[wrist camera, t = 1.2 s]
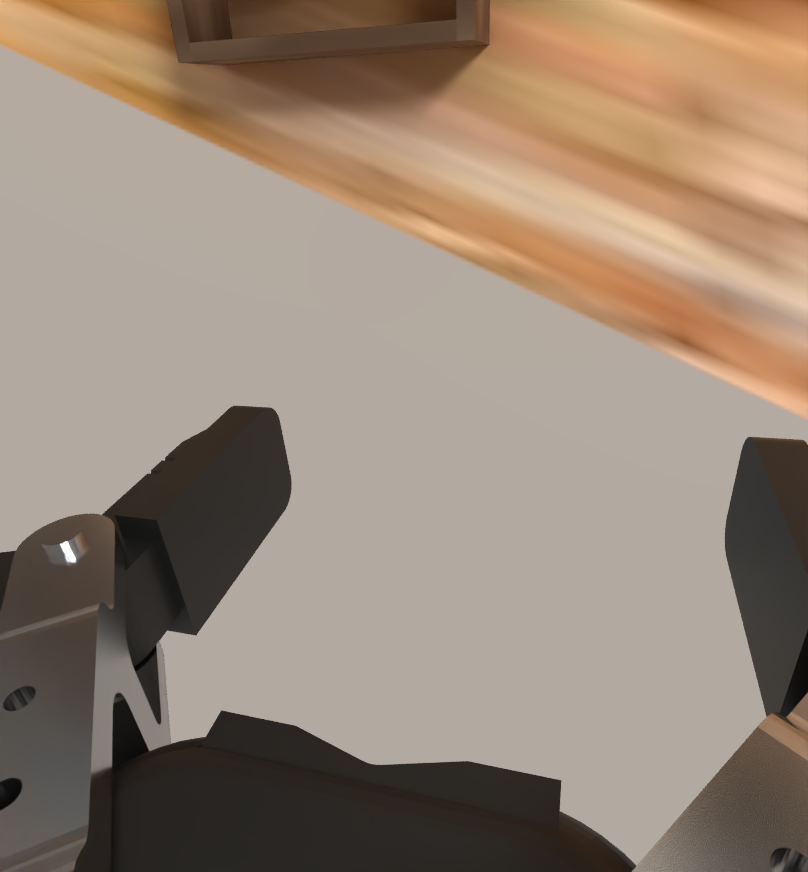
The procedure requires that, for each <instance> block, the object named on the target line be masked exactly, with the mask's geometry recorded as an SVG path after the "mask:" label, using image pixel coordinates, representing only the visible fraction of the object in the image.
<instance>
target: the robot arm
mask: <svg viewBox="0 0 808 872" xmlns="http://www.w3.org/2000/svg"><path fill="white" fill-rule="evenodd" d="M290 494H291V475H290V470H289V465H288V460H287V455H286V450H285V445H284V440H283V435H282V430H281V425H280V420H279V417H278V415H277V413H276V411H275V410H274V409H272V408H266V407H249V406H233V407H231V408H229V409H228V410H227V411H226V412H225V413H224V414H223V415H222V416H221V417H220V418H219V419H218V420H217V421H216V422H214V423H213V424H212V425H211V426H210V427H209V428H208V429H207V430H204V431H202V432H200V433H199V434H197V435H195V436H193V437H191V438H189V439H187V440H185V441H183V442H182V443H181V444H180V445H179V446H178V447H176V448H175V449H174V450H173V451H172V452H171V453H170V454H169V455H168V456H166V458H165V461H161V462H160V463H159V464H158V465H157V466H155V467H154V468H153V469H152V470H151V474H147V475H146V476H144V477H143V478H142V479H141V480H140V481H139V482H138V483H137V484H136V485H134V486H133V487H132V488H131V489H130V490H129V491H128V492H127V493H126V494H124V495H123V496H122V497H121V498H120V499H119V500H118V501H117V502H116V503H114V504H113V505H112V506H111V507H110V508H109V509H108V510H107V511H106V512H105V513H104V514H102V515H99V514H81V515H75V516H70V517H66V518H63V519H60V520H57V521H55V522H53V523H50V524H48V525H46V526H44V527H42V528H40V529H39V530H37V531H35V532H34V533H33V534H31V535H30V536H29V537H27V538H26V539H25V540H24V541H23V542H22V543H21V544H20V545H19V547H18V548H17V550H16V551H11V552H2V553H0V872H808V445H807V443H806V442H805V441H804V440H794V439H777V438H760V437H748V438H747V439H746V441H745V443H744V445H743V448H742V451H741V456H740V460H739V465H738V469H737V474H736V479H735V483H734V487H733V492H732V496H731V501H730V506H729V511H728V515H727V520H726V528H725V550H726V557H727V561H728V565H729V569H730V573H731V577H732V581H733V585H734V589H735V593H736V597H737V601H738V605H739V609H740V613H741V617H742V621H743V625H744V629H745V632H746V637H747V640H748V645H749V649H750V652H751V656H752V661H753V665H754V668H755V672H756V676H757V680H758V684H759V688H760V692H761V696H762V700H763V704H764V708H765V712H766V716H767V718H766V719H764V720H763V721H762V722H761V723H760V725H759V726H758V727H757V728H756V729H755V730H754V731H753V733H752V734H751V735H750V736H749V738H748V739H746V741H745V742H744V743H743V744H742V745H741V747H740V748H739V749H738V750H737V751H736V752H735V753H734V754H733V756H732V757H731V758H730V759H729V760H728V761H727V763H726V764H725V765H724V766H723V767H722V768H721V769H720V771H719V772H718V773H717V774H716V775H715V777H714V778H713V779H712V780H711V781H710V782H709V783H708V784H707V786H706V787H705V788H704V789H703V790H702V791H701V793H700V794H699V795H698V796H697V797H696V798H695V800H694V801H693V802H692V803H691V804H690V805H689V806H688V807H687V809H686V810H685V811H684V812H683V813H682V814H681V816H680V817H679V818H678V819H677V820H676V821H675V823H674V824H673V825H672V826H671V827H670V828H669V829H668V831H667V832H666V833H665V834H664V835H663V836H662V838H661V839H660V840H659V841H658V842H657V843H656V844H655V846H654V847H653V848H652V849H651V850H650V851H649V852H648V854H647V855H646V856H645V857H644V858H643V859H642V861H641V862H640V863H639V864H638V865H637V866H636V865H635V864H634V863H633V862H632V861H631V860H630V859H629V858H628V857H627V856H626V855H625V854H624V853H623V852H622V851H620V850H619V849H618V848H617V847H615V846H614V845H613V844H612V843H610V842H609V841H608V840H607V839H605V838H604V837H603V836H602V835H600V834H598V833H597V832H595V831H594V830H592V829H591V828H589V827H588V826H586V825H585V824H583V823H581V822H580V821H578V820H576V819H574V818H572V817H570V816H568V815H566V814H564V813H562V812H560V811H559V810H560V792H561V780H556V779H551V778H546V777H542V776H537V775H532V774H527V773H522V772H517V771H512V770H508V769H503V768H498V767H493V766H488V765H483V764H478V763H474V762H468V761H466V762H464V761H463V762H440V763H417V764H396V765H395V764H394V765H373V764H369V763H366V762H364V761H362V760H360V759H358V758H356V757H354V756H352V755H350V754H348V753H346V752H344V751H342V750H340V749H338V748H337V747H335V746H333V745H331V744H329V743H327V742H325V741H323V740H322V739H320V738H318V737H316V736H314V735H312V734H310V733H308V732H306V731H304V730H303V729H301V728H299V727H297V726H294V725H289V724H284V723H279V722H274V721H269V720H264V719H259V718H254V717H249V716H245V715H240V714H235V713H231V712H226V711H221V712H220V714H219V716H218V717H217V719H216V721H215V722H214V724H213V726H212V727H211V729H210V731H209V733H208V734H207V736H206V737H202V738H196V739H190V740H184V741H179V742H176V743H172V744H171V738H170V725H169V713H168V700H167V689H166V677H165V663H164V654H163V650H162V647H161V644H160V642H159V640H160V639H161V638H162V636H163V635H164V634H165V632H166V631H167V630H169V631H174V632H180V633H185V634H191V635H197V633H198V632H199V630H200V629H201V628H202V626H203V625H204V623H205V622H206V621H207V619H208V618H209V616H210V615H211V613H212V612H213V611H214V609H215V608H216V606H217V605H218V604H219V602H220V601H221V599H222V598H223V596H224V595H225V594H226V592H227V591H228V589H229V588H230V587H231V585H232V584H233V582H234V581H235V580H236V578H237V577H238V575H239V574H240V573H241V571H242V570H243V568H244V567H245V565H246V564H247V563H248V561H249V560H250V559H251V557H252V556H253V554H254V553H255V551H256V550H257V549H258V547H259V546H260V544H261V543H262V541H263V540H264V539H265V537H266V536H267V535H268V533H269V532H270V530H271V529H272V527H273V526H274V525H275V523H276V522H277V520H278V519H279V518H280V516H281V515H282V513H283V512H284V511H285V509H286V507H287V505H288V502H289V499H290Z"/></svg>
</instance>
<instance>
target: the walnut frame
mask: <svg viewBox="0 0 808 872" xmlns="http://www.w3.org/2000/svg"><path fill="white" fill-rule="evenodd" d="M167 5H168V10H169V15H170V20H171V25H172V31H173V36H174V41H175V46H176V51H177V57H178V62H179V63H193V64H214V65H230V64H243V63H256V62H269V61H282V60H295V59H308V58H322V57H335V56H348V55H361V54H374V53H387V52H400V51H413V50H426V49H439V48H452V47H465V46H479V45H489V10H490V0H456V20H444V21H433V22H421V23H410V24H399V25H387V26H376V27H364V28H353V29H342V30H330V31H319V32H307V33H296V34H285V35H273V36H262V37H250V38H239V39H232V33H231V27H230V20H229V14H228V8H227V1H226V0H167Z"/></svg>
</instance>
